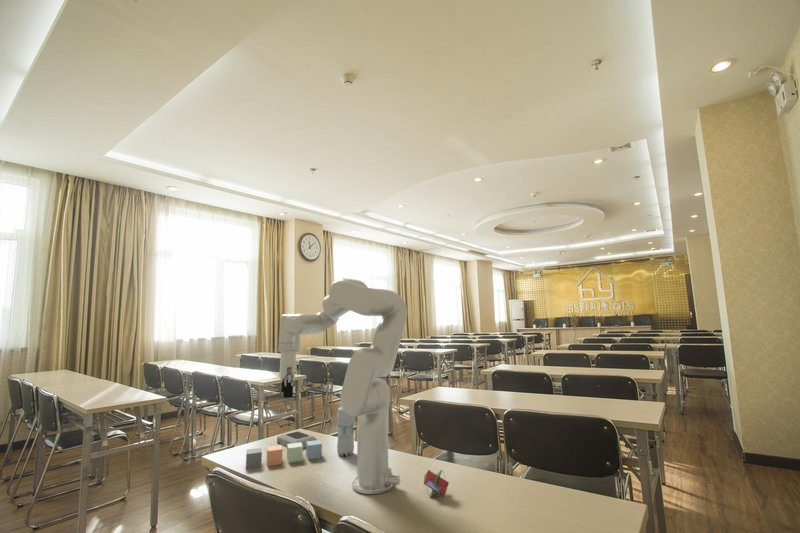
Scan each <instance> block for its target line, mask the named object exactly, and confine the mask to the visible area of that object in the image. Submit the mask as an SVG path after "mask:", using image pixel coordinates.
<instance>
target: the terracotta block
mask: <svg viewBox="0 0 800 533" xmlns="http://www.w3.org/2000/svg"><path fill="white" fill-rule="evenodd" d="M282 464H283V445H282V444H279V445H272V446H271V445H270V446H266V466H267V467H270V466H276V465H277V466H278V465H282Z"/></svg>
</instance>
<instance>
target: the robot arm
mask: <svg viewBox="0 0 800 533" xmlns="http://www.w3.org/2000/svg"><path fill="white" fill-rule="evenodd" d="M321 306H322V309H323V310H321V311H320V312H318V313H296V314H295V313H294V314H293V313H288V314H287V313H284V314H282V315H280V318H279V329H278V330H279V331H278V332H279V333H278V348H277V349H278V350H277V351H278V352H279V353H280V358H279V360H280V361H279V373H278V374H279V375H278V376H279V379H280V380H281V389H280V390H281V393H283V394H282V397H283V399H288V398H293V394H294V381H293V380H294V379H295V375H296V362H297V353H298V352H300V345H301V344H300V343H301V342H300V341H301V335H302V336H303V335H317V334H321V333H323V332H326V331H327V330H328V329H330V328H332V327H334V326H335V325H336V324H337V323H338V321H339V319H340V317H342V316H343V315H345V314H347V313H348V312H350V311H351V312H354V313H356V314H358V315H361V316H364V317H365V316H366V317H382V318H381V321H380V322H379V323H378V324H377V326H376V328H375V332H374V335H373V339H372V342H371V345H370V346H368V347H363V348H360V349H358V350H357V349H356V351H355V352H354V353H353V354H352V356H351V357H350V359H349V362H348V365H347V368H346V372H345V377H344V381H343V383H342V387H341V392H340V407H341V406H342V409H343V411H344V412H345V413H346V414H347V415H349V416H355V417H358V419H357V432H356V433H357V434H356V435H357V436H356V438H357V439H356V442H357V445H356V446H357V449H356V450H357V452H356V453H357V454H356V455H357V458H356V459H357V468H356V470H357V471H356V472H357V474H356V475H357V477H355V478H354V479H353V480H352V482H351V483H352V484H351V486H352V487H351V488H352V489H353V490H354V491H355V492H357V493H360V494H364V495H378V494H382V493H386V492H388V491H390V490H391V489H392V488H393V487H394V486H400V484H401V477H400V474H393V472H392V467H389V411H390V410H389V409H390V403H391V389H390V386H389V385H388V383H387V381H385V380H384V379H382V378H383V377H386V376H388V375H390V374H391V373H392V372H393V370H394V367H395V364H396V360H397V356H398V352H399V348H400V345H401V340H402V336H403V333H404V330H405V327H406V324H407V319H408V307H407V305H406V302H405V301H404V298H402V296H401V295H399V294H398V293H397V292H395V291H393V290H390V289H384V288H383V289H382V288H374V287H373V288H372V287H371V288H370V287H368V285H366V282H365V283H364V282H363V281H362V280H359V279H351V278H344V277H343V278H339V279H338V278H337V279H336V280H334V281H333V282H332V283H331V285H330V286H329V288H328V295H326V296H325V297H324V299H323V300H322V305H321Z"/></svg>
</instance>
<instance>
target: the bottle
mask: <svg viewBox="0 0 800 533" xmlns="http://www.w3.org/2000/svg"><path fill="white" fill-rule="evenodd" d="M355 417H356V416H349V415H347V414H346V413H345V412H344V411H343V409H342V406H341V405H340V407H338V408H337V415H336V418H337V420H336V422H337V445H336V447H337V448H336V450H337V454H338V456H341V457H344V455H345V457H348V456H352V455H353V453H354V450H355V440H354V438H355V437H354V422H355Z"/></svg>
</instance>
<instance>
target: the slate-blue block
mask: <svg viewBox="0 0 800 533" xmlns="http://www.w3.org/2000/svg"><path fill="white" fill-rule="evenodd" d="M322 450H323V444H322V442H321V440H320V439H317V440H314V441H307V442H306V448H305V456H307V457H306V459H307V460H308V459H310V460H315V459H314V458H317V459H320V458H319V457H323V456H322V453H323V452H322Z"/></svg>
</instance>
